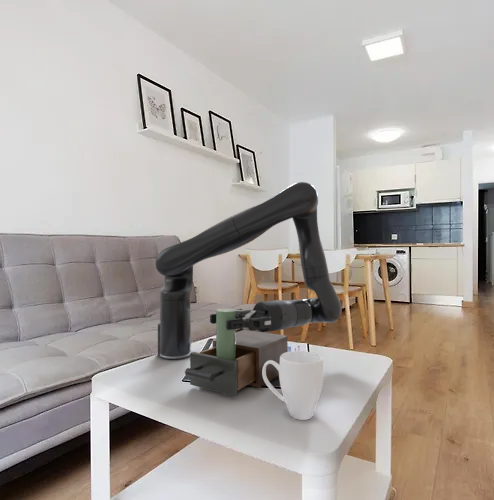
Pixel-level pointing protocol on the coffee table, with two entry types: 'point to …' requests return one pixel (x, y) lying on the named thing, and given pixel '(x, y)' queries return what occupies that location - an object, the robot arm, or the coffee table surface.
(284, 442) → the coffee table surface
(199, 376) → the drawer
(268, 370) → the cabinet
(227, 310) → the green cylinder
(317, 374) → the mug
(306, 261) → the robot arm
